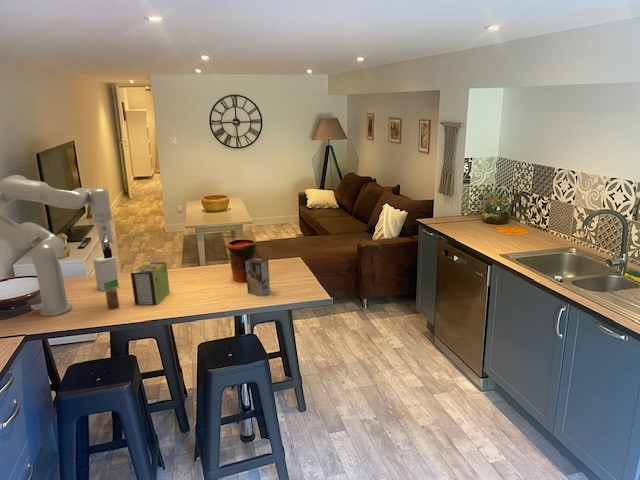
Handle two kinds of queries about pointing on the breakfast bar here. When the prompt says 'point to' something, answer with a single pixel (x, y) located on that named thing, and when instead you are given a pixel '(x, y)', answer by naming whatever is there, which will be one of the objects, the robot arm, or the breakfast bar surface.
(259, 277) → the coffee box
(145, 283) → the protein box
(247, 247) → the vessel
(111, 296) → the walnut block
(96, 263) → the skincare box
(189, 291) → the breakfast bar surface
